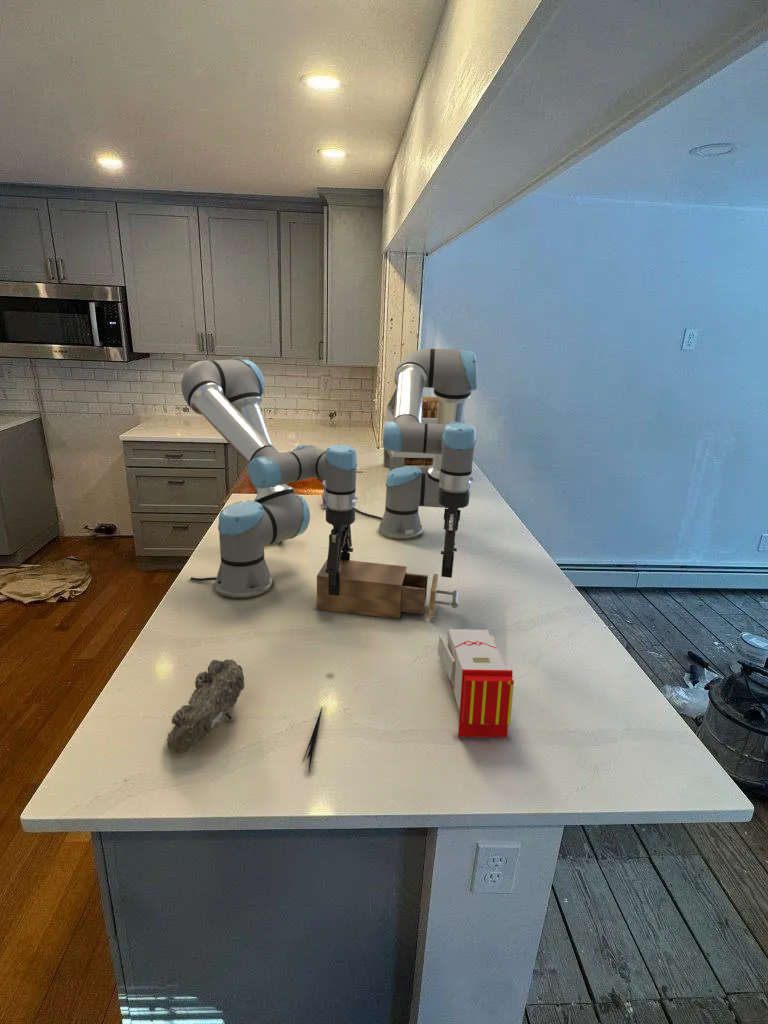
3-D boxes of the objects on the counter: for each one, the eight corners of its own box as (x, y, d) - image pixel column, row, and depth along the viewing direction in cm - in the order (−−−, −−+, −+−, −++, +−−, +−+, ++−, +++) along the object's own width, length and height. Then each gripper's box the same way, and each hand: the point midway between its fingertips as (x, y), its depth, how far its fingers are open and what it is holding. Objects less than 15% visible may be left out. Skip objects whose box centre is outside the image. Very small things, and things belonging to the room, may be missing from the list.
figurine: (325, 511, 218) (326, 473, 213) (316, 503, 226) (316, 467, 221) (348, 508, 222) (349, 471, 217) (337, 500, 231) (338, 465, 225)
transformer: (382, 463, 289) (386, 382, 275) (445, 464, 293) (451, 384, 279) (390, 482, 257) (394, 392, 243) (460, 483, 261) (468, 394, 247)
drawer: (458, 602, 153) (460, 576, 150) (456, 621, 143) (459, 594, 141) (361, 591, 156) (362, 565, 154) (354, 608, 147) (354, 582, 144)
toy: (488, 613, 130) (523, 677, 101) (484, 667, 133) (517, 744, 104) (435, 612, 130) (455, 676, 101) (432, 666, 133) (451, 743, 103)
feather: (331, 679, 122) (336, 673, 122) (307, 777, 96) (313, 769, 95) (324, 675, 122) (329, 669, 121) (298, 772, 95) (304, 764, 95)
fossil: (192, 660, 117) (244, 628, 112) (224, 691, 120) (276, 661, 115) (142, 746, 98) (202, 712, 93) (182, 779, 101) (242, 748, 96)
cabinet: (405, 598, 156) (406, 566, 152) (399, 618, 145) (401, 585, 142) (327, 589, 159) (327, 557, 155) (316, 609, 148) (316, 575, 145)
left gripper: (344, 524, 132) (343, 607, 140) (364, 494, 154) (361, 567, 162) (313, 521, 133) (313, 603, 141) (337, 491, 155) (336, 564, 163)
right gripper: (469, 498, 131) (460, 589, 139) (470, 482, 143) (462, 566, 151) (437, 495, 132) (429, 586, 140) (440, 479, 144) (434, 563, 152)
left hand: (339, 584), depth 151 cm, fingers closed on cabinet, 11 cm apart
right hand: (446, 575), depth 146 cm, fingers closed
